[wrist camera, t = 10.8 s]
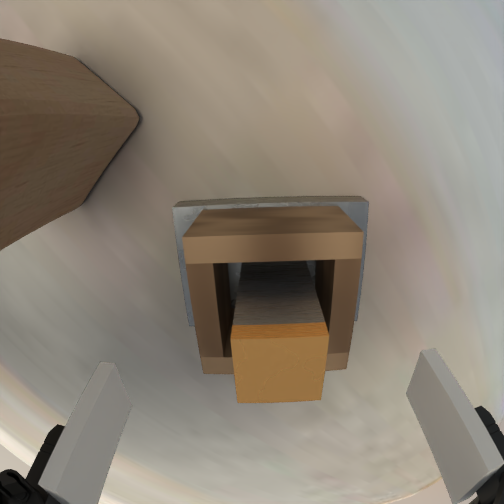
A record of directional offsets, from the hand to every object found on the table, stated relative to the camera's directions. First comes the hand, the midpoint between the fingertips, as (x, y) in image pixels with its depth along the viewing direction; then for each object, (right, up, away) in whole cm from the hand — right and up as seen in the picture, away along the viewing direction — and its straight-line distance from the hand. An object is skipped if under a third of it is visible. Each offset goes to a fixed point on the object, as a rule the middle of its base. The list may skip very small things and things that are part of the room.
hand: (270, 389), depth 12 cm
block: (-16, +16, +10) cm, 24 cm away
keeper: (+1, +5, +13) cm, 14 cm away
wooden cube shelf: (+1, +4, +11) cm, 12 cm away
